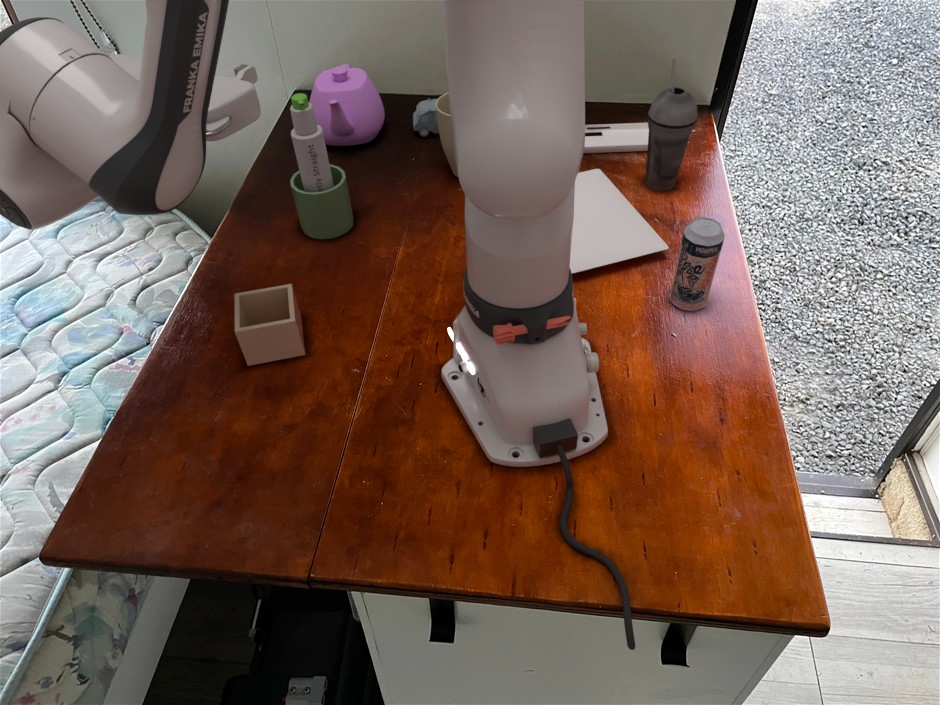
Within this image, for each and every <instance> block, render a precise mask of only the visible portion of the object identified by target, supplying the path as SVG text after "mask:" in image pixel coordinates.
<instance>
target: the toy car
mask: <svg viewBox="0 0 940 705" xmlns="http://www.w3.org/2000/svg"><path fill="white" fill-rule="evenodd" d="M437 99H438V98H430V97H428V98H427V99H425V100H421V101H419V102H418V104H417V105H416V110H415V111H414V112H412V126H413V131H414V132H418V134H419V135H420V137H424V138H425V137H427V136H429V135H430V132H432V133H433V134H439V127H438V120H437V113H436V106H435V103H436V101H437Z"/></svg>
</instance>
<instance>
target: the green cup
mask: <svg viewBox="0 0 940 705" xmlns="http://www.w3.org/2000/svg"><path fill="white" fill-rule="evenodd" d="M329 165H330V170H331V174H332V179H333V184H334V188H331V189H328V190H326V191H321V192H305V191H304V187H303V183H302V179H301V175H300V171H299V170H298V171H296V172H295V173H293V174H292V176H291V178H290V180H289V182H290V189H291V192H292V196H293V200H294V204H295V208H296V212H297V216H298V220H299V224H300V228H301V231H302V232H303V234H304V235H305V236H308V237H309V238H311V239H316V240H331V239H335V238H338V237H342V236H343V235H345V234H346V233H348V232H349V231H350V230H351V229H352V227H353V226H354V222H355V219H354V218H355V217H354V214H353V207H352V204H351V197H350V193H349V192H350V191H349V187H348V182H347V176H346V172H345V170H343V169H342V168H341V167H340V166H338V165H333V164H330V163H329Z"/></svg>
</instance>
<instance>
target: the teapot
mask: <svg viewBox="0 0 940 705" xmlns="http://www.w3.org/2000/svg"><path fill="white" fill-rule="evenodd" d="M308 102H309V103H311V104H312V107H313V110H314V114H315V118H316V123H317V125H319V126H321V128H322V130H323V135H324V140H325V145H327V146H332V147H333V146H336V147H339V146H340V147H342V146H343V147H344V146H347V147H348V146H357V145H364V144H367V143H369V142H372V141H373V140H374V139H375V138H376V137H377V136H378V135H379V133H380V132H381V130H382V127H383V125H384V124H385V119H386V118H385V117H386V113H385V108H384V103H383V100H382V98H381V95H380V93H379V91H378V89H377V87H376V86H375V84H374V83H373V81H372V80H371V78H370V76H369V74H368V73H367V72H366V71H365V70H364V69H362V68H359V67H352V66H351V65H350V64H349V63H343V64H340V65H339V66H338V65H337V66H334V67H333V68H329V69H325V70H323V71H322V72H320V73H319V74H318V76H317V77H316V78H315V80H314V83H313V86H312V90H311V94H310V98H309V101H308Z"/></svg>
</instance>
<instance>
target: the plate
mask: <svg viewBox="0 0 940 705" xmlns="http://www.w3.org/2000/svg"><path fill="white" fill-rule="evenodd" d="M669 247H670V246H669V245H668V244H667V243H666V242H665V240H663V238H662V237H661V236H660V235H659V234H658V233H657V232H656V230H655V229H654V228H653V227H652V226H651V225H650V224H649V223H648V222H647V221H646V219H645V218H644V217H643V216H642V215H641V214H640V212H639V211H638V210H637V209H636V208H635V207H634V206H633V204H632V203H631V202H630V201H629V200H628V199H627V197H625V196H624V195H623V193H622V192H621V191H620V190H619V189H618V188H617V187H616V185H615V184H614V183H613V182H612V181H611V179H610V178H609V177H608V176H607V175H606V174H605V173H604V172H603V171H602V170H601V168H594V169H588V170H585V171H580V172H578V174H577V177H576V179H575V192H574V220H573V232H572V244H571V256H570V270H571V273H572V275H575V274H579V273H583V272H587V271H591V270H595V269H598V268H602V267H606V266H610V265H615V264H618V263H623V262H625V261H629V260H635V259H636V258H642V257H645V256H649V255H653V254H657V253H661V252H664V251H668V250H669Z"/></svg>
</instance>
